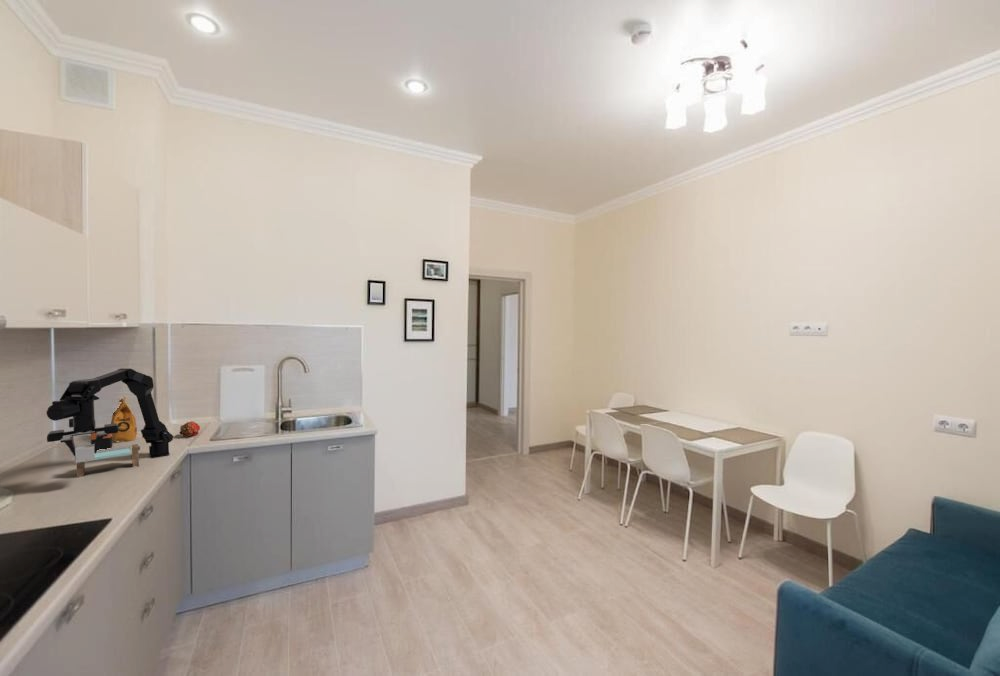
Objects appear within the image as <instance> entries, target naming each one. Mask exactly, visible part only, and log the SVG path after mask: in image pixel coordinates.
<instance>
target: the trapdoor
mask: <svg viewBox="0 0 1000 676" xmlns="http://www.w3.org/2000/svg"><path fill="white" fill-rule="evenodd" d="M129 455H132V449H131V445H126V446H120V447H114V448H112V447H111V449H105V450H99V451H97V452H96V453H95V460H91V461H90V462H92V461H99V460H100V461H101V460H104V459H110V458H117V457H122V456H123V457H124V456H129ZM85 462H88V461H85Z"/></svg>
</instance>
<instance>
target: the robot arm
mask: <svg viewBox="0 0 1000 676" xmlns="http://www.w3.org/2000/svg"><path fill="white" fill-rule="evenodd" d="M119 382H122V383H123V384H125V385H126V386H127V388H128V389H129V391H130V393H132V394H133V395H135V397H136V398H137V403H138V406H139V408H140V412H141V415H142V418H143V421H144V426H143V428H142V429H140V433H141V435H142V436H141V437H142V439H144V440H145V443H146V444H150V445H149V446H148V450H149V451H148V453H149V457H150V458H151V459H153V458H154V457H155V458H160V457H165V456H170V445H169V443H171V442H172V441H173V440H174V435H173V434H172V433H171V432H169V430H168V428H167V426H166V425H165V423H163V422H162V421H161V420H160V418H159V415H158V412H157V408H156V405H155V401H154V399H153V395H152V391H153V390H154V388H155V387H154V379H153V377H152V376H150V375H147V374H145V373H142V372H139V371H136V370H135V369H134V368H133V369H132V368H129V367H128V368H124V367H123V368H122V367H121V368H118V369H117V370H114V371H111V372H109V373H105V374H101V375H100V376H96V377H93V378H87V379H85V378H84V379H77V380H72V381H71V382H69V384H68V386H67V388H66V389H65V390H64V393H63V394H62V395H61V396H60V399H59V400H54V401H52V402H51V405H49V406H48V408H47V409H46V416H47V418H48V419H49V420H51V421H54V422H57V421H60V420H65V419H68V427H69V428H70V429H71V428H73V429H72V430H70V431H65V429H59V430H52V431H51V430H50V431H49V432H48V433H47V435H46V441H47V443H53V442H58V441H59V442H60V443H61V444H62V443H64V444H65V445H66V446H67V447H68V448H69V450H70V452H71V453H72V455H73V457H75V449H76V445H75V442H74V437H75V436H83V435H91V434H92V433H97V436H96V442H95V449H94V451H95V453H96V452H97V449H98V447H99V444H100V442H101V440H102V438H103V437H106V436H107V434H112V433H118V424H117V423H113V424H111V423H106V424H104V425H103V427H101V426H100V427H96V420H95V401H98V400H100V397H98V396H97V395H96V394H97V393H99V392H100V391H101V390H102V389H103V388H105V387H107V386H108V387H109V386H111V385H113V384H115V383H119Z"/></svg>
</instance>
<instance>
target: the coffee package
mask: <svg viewBox="0 0 1000 676" xmlns="http://www.w3.org/2000/svg"><path fill="white" fill-rule="evenodd" d="M123 397H124V398H123V399H121V400H120V399H118V403H119V402H122V403H121V404H120V406H119V408H117V410H116V411H115V412H114V413H113V412H112V414H113V415H112V416H111V422H110V424H113V423H117V424H118V433H112V440H113V442H115V443H118V442H117V441H124V442H129V441H128V440H130V441H134V440H133V439H136V437H137V436H138V428H137V427H138V426H137V420H136V416H135V417H134V415H135V414H134V415H133V414H132V412H131V410H130V409H129V407H128V406H127V404H126V403H125V399H126V400H127V398H126V397H125V396H123ZM136 435H137V436H136Z"/></svg>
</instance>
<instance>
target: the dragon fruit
mask: <svg viewBox="0 0 1000 676" xmlns="http://www.w3.org/2000/svg"><path fill="white" fill-rule="evenodd" d="M200 430H201V426H200V425H199V424H198V423H197V422H195V421H192V420H191V421H188V422H186V423H184V424H182V425H181V426H180V429H179V432H178V433H179V434H180V435H182V436H184V437H185V438H190V437H189V436H191V437H192V436H197V435H199V431H200Z"/></svg>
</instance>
